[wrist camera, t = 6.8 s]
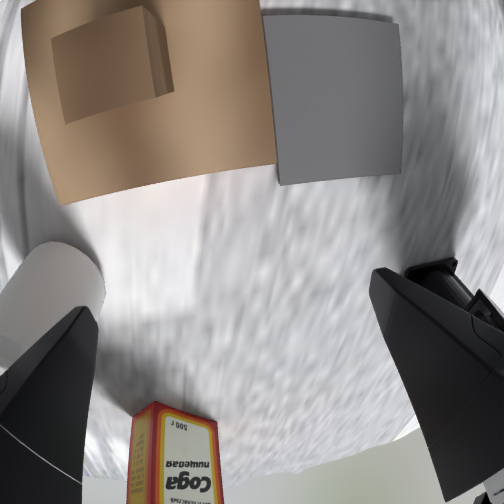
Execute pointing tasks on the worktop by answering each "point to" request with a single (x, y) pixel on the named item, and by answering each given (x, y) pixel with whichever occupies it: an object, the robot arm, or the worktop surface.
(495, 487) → the robot arm
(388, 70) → the mat
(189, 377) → the worktop surface
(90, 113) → the lid
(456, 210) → the worktop surface
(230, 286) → the worktop surface
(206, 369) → the worktop surface
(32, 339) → the can
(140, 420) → the baking soda box
